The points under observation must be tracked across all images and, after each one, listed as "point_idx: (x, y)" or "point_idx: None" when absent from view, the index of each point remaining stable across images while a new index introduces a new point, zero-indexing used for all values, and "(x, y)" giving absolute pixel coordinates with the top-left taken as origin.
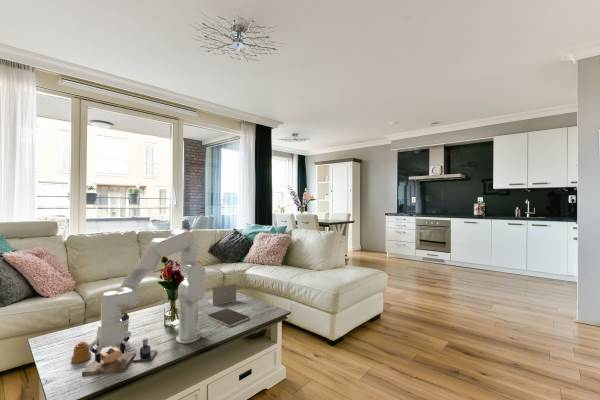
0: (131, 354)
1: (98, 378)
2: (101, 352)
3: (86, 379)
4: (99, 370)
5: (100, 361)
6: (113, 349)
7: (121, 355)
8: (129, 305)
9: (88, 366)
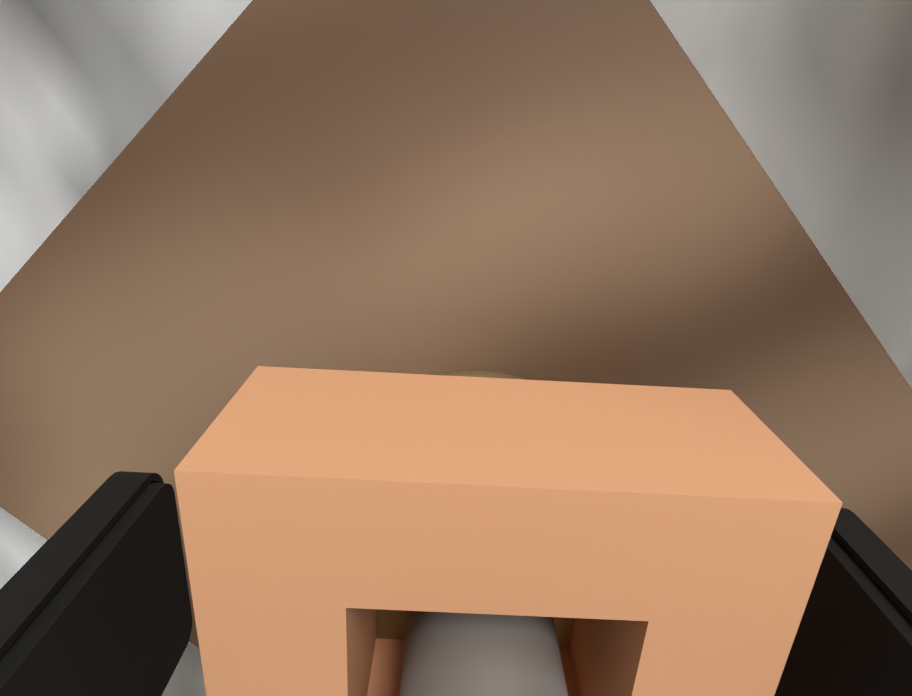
0: (907, 550)
1: (173, 673)
2: (228, 508)
3: (15, 566)
4: (192, 626)
5: (178, 655)
6: (643, 645)
7: (782, 411)
8: None
9: (35, 278)
